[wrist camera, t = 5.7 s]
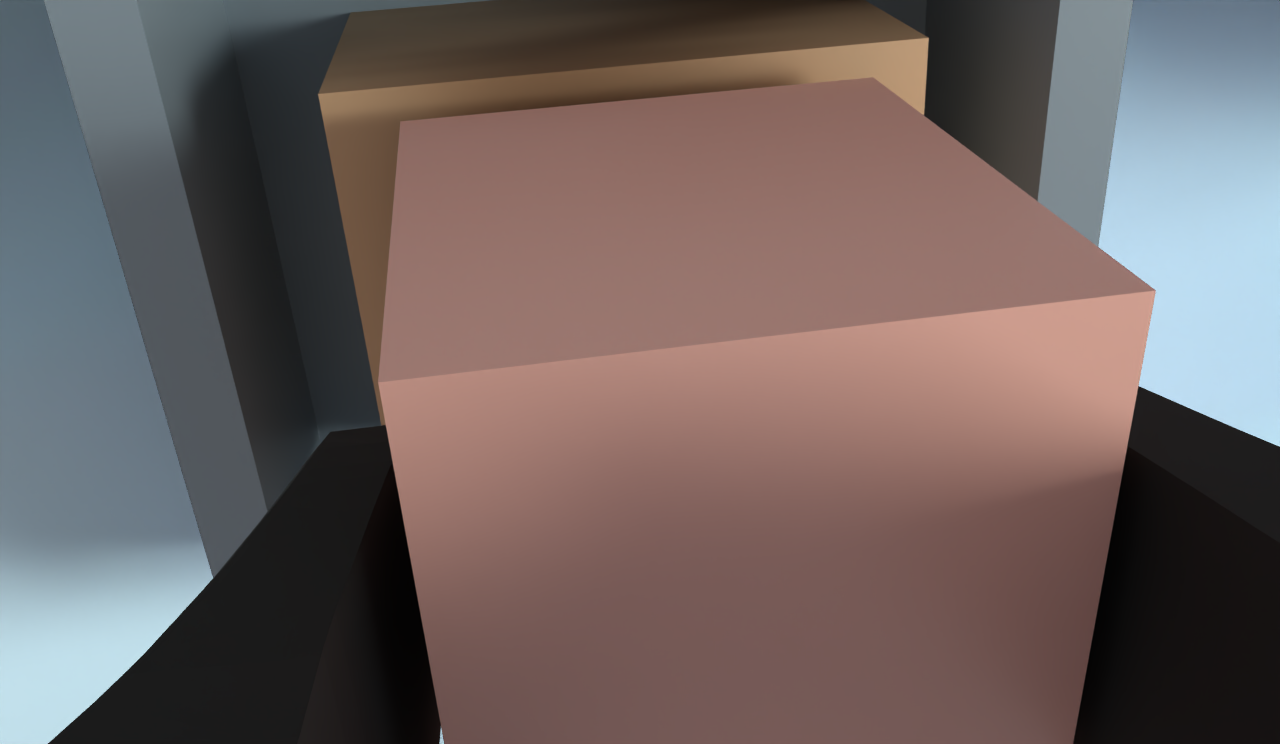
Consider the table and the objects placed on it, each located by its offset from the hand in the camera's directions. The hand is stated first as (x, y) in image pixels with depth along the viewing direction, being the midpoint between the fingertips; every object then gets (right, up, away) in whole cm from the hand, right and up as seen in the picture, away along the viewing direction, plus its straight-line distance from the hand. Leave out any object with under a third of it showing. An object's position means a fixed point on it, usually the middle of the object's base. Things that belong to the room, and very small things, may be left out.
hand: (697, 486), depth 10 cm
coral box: (0, +1, +2) cm, 2 cm away
